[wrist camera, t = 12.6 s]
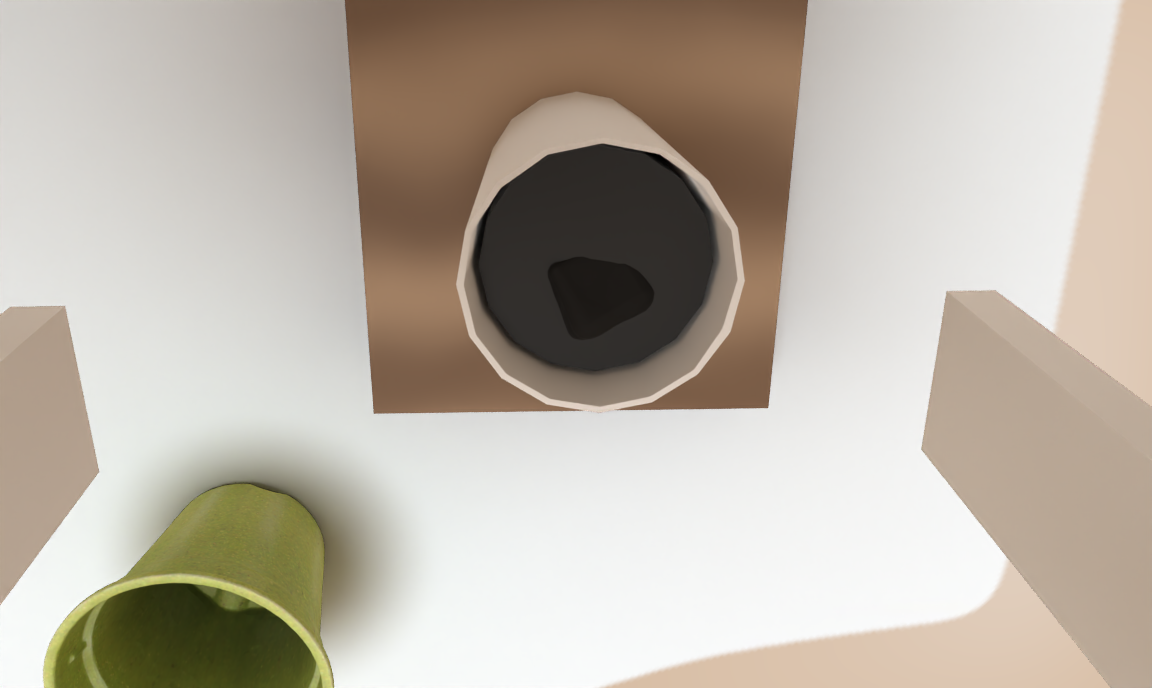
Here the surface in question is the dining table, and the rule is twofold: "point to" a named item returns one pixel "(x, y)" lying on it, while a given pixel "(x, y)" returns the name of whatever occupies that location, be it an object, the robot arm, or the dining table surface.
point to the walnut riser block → (511, 85)
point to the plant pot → (207, 604)
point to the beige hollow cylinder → (596, 258)
